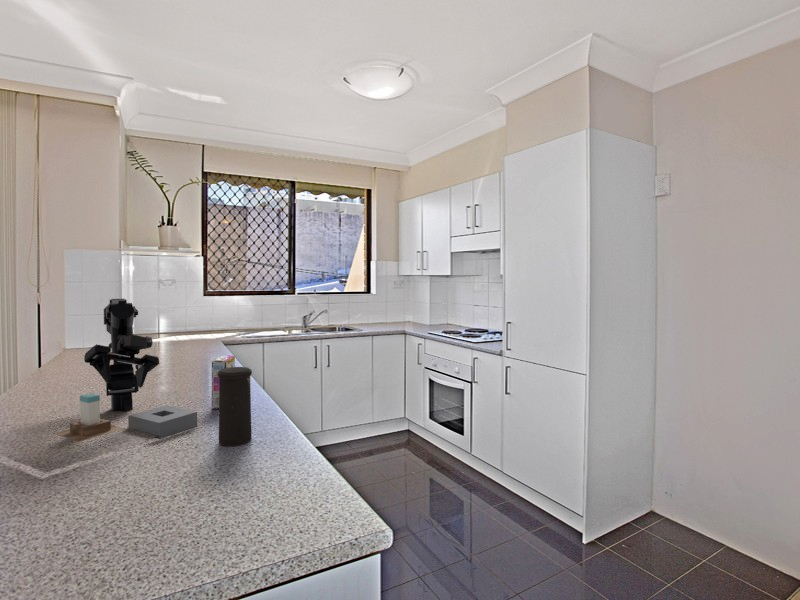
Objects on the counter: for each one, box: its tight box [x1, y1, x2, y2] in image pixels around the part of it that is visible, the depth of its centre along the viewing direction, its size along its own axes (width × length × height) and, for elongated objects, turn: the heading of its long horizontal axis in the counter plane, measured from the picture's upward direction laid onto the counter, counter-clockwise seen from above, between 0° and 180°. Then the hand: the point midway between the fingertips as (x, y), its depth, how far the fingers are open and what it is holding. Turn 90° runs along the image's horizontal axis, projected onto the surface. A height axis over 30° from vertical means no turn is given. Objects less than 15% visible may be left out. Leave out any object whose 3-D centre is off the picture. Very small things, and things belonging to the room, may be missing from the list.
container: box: [218, 366, 253, 447], centre depth 124 cm, size 9×9×20 cm
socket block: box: [127, 405, 198, 440], centre depth 134 cm, size 14×12×4 cm
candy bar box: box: [211, 355, 236, 410], centre depth 159 cm, size 11×5×16 cm, turn 5°
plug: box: [79, 393, 101, 426], centre depth 129 cm, size 4×3×10 cm
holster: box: [55, 417, 126, 442], centre depth 129 cm, size 12×12×4 cm
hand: (125, 384), depth 130 cm, fingers open, 9 cm apart
